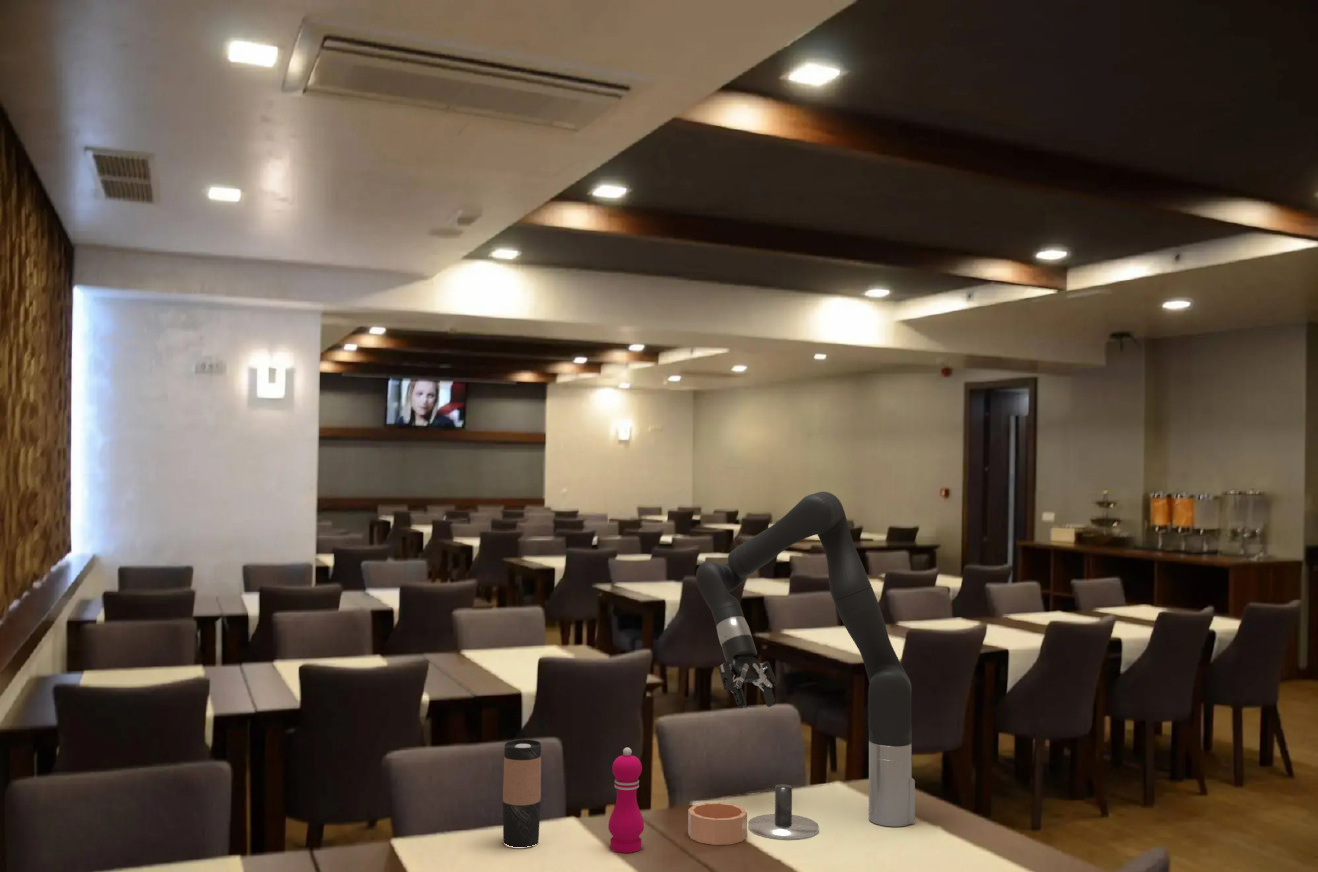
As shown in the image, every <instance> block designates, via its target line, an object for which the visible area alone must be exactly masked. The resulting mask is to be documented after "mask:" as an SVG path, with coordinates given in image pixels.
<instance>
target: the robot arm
mask: <svg viewBox="0 0 1318 872" xmlns="http://www.w3.org/2000/svg"><path fill="white" fill-rule="evenodd" d="M848 523H849V522H848V519H847V516H846V513H845V509H844V507H843V504H842V503H841V501H840V499H839V498H838V497H837V496H836V495H835V494H833V493H831V492H828V491H819V492H815V493H811V494H807V495H806V496H804V497H803V498H802V499H801V500H800V501H799V502H798V503H796V505H795V506H793V507H792V508H791V509H790V510H789V511H788V512H787V513H786V514H785V515H784V516H783V517H782V518H781V519H779V520H778V521H776V522H775V523H774V524H772V525H771V526H769V527H768V528H765V530H763V531H761V532H759V533H758V534H756V535H755V536H753V537H751V538H750V539H748V540H746V541H744V542H743V543H741V544H740V545H739V546H736V548H735V547H734V549H732V551H730V552H729V554H728V555H727V562H726V563H724V564H721V563H719V562H718V563H717V562H714V561H706V562H705V561H704V562H703V563H700V565H699V566H698V567H697V569H696V573H695V580H696V585H697V588H698V591H699V592H700V594H701V596H702V598H703V600H704V601H705V603H706V604H707V607H708V608H709V609H710V611H711V613H712V617H713V621H714V623H715V624H714V625H715V627H716V631H717V636H718V640H719V644H720V646H721V649H722V653H723V656H724V659H725V661H724V662H722V664H720V665H719V666H718V670H719V675H720V678H721V682H722V686H723V690H725V691H726V692H727V691H730V692H731V693H732V694H733V697H734V701H735V703H736V705H737V706H738V708H739V709H743V708H745V707H746V706H747V705H748V703H747V701H746V697H745V693H744V691H743V688H742V687H743V684H745V683H751V684H753V685H754V686H757V687H758V689H760V690H761V691H762V694H763V695H762V696H763V698H764V701H765V704H766V706H767V708H772V707H773V706H775V705H776V698H775V695H774V693H773V688H774V687H775V686H777V685H778V681H777V679H776V677H775V673H774V672H773V669H772V666H771V664H770V662H769V661H768V660H766V661H764V662H759V661H758V657H757V655H758V651H757V648H756V645H755V643H754V642H755V641H754V638H753V636H752V633H751V630H750V627H749V625H748V623H747V620H746V619H745V615H744V612H743V609H742V606H741V604H740V602H739V600H738V598H736V597H735V596H733V595H732V594H731V592H733V591H734V590H736V589H737V588H738V587H739V586H740V585H741V584H742V583H743V582H744V581H745V580H746V579H747V578H748V577H749V576H750V575H751V574H752V573H754V572H756V571H758V570H759V569H761V568H763V567H764V566H765V565H767V564H768V563H770V562H771V561H772V560H774V559H775V558H776V557H777V556H779V555H780V554H781V553H782V552H784V551H785V550H786V549H788V548H789V547H791V546H793V545H794V544H796V543H799V542H800V541H803V540H805V539H808V538H810V537H813V536H815V535H817V537H818V539H819V541H820V544H821V545H822V547H823V551H824V553H825V559H826V563H827V572H828V573H827V574H828V575H827V576H828V585H829V590H830V595H831V598H832V600H833V602H834V605H835V608H836V611H837V612H838V616H839V618H840V620H841V621H842V623H843V625H844V628H845V629H846V631H847V633H848V634H849V636H850V638H851V639H852V640H853V643H854V644H855V646H856V647H857V649H858V651H859V653H860V656H861V658H862V661H863V665H864V667H865V671H866V674H867V679H868V683H869V685H868V695H867V696H868V697H867V698H868V700H867V701H868V703H867V706H868V708H867V709H868V710H867V711H868V712H867V713H868V720H867V723H868V727H867V728H868V820H869V821H870V822H872V823H873V824H876V825H880V826H884V827H894V828H895V827H896V828H897V827H905V826H909V825H914V824H916V817H915V816H916V812H915V811H916V810H915V809H916V794H915V793H916V787H915V784H916V780H915V779H914V778H913V777H912V733H913V732H912V692H913V691H912V682H911V680H910V677H909V676H908V674H907V673H906V671H905V669H904V667H903V665H902V663H901V662H900V659H899V658H898V655H897V654H896V650H894V648H893V645H892V643H891V639H890V637H889V633H888V629H887V627H886V622H885V620H884V614H883V613H882V610H881V607H880V604H879V601H878V598H877V596H876V593H875V591H874V589H873V586H872V584H871V581H870V579H869V577H868V575H867V572H866V569H865V567H864V565H863V562H862V559H861V557H860V555H859V553H858V551H857V548H856V545H855V543H854V540H853V537H852V534H851V530H850V527H849V524H848Z"/></svg>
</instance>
